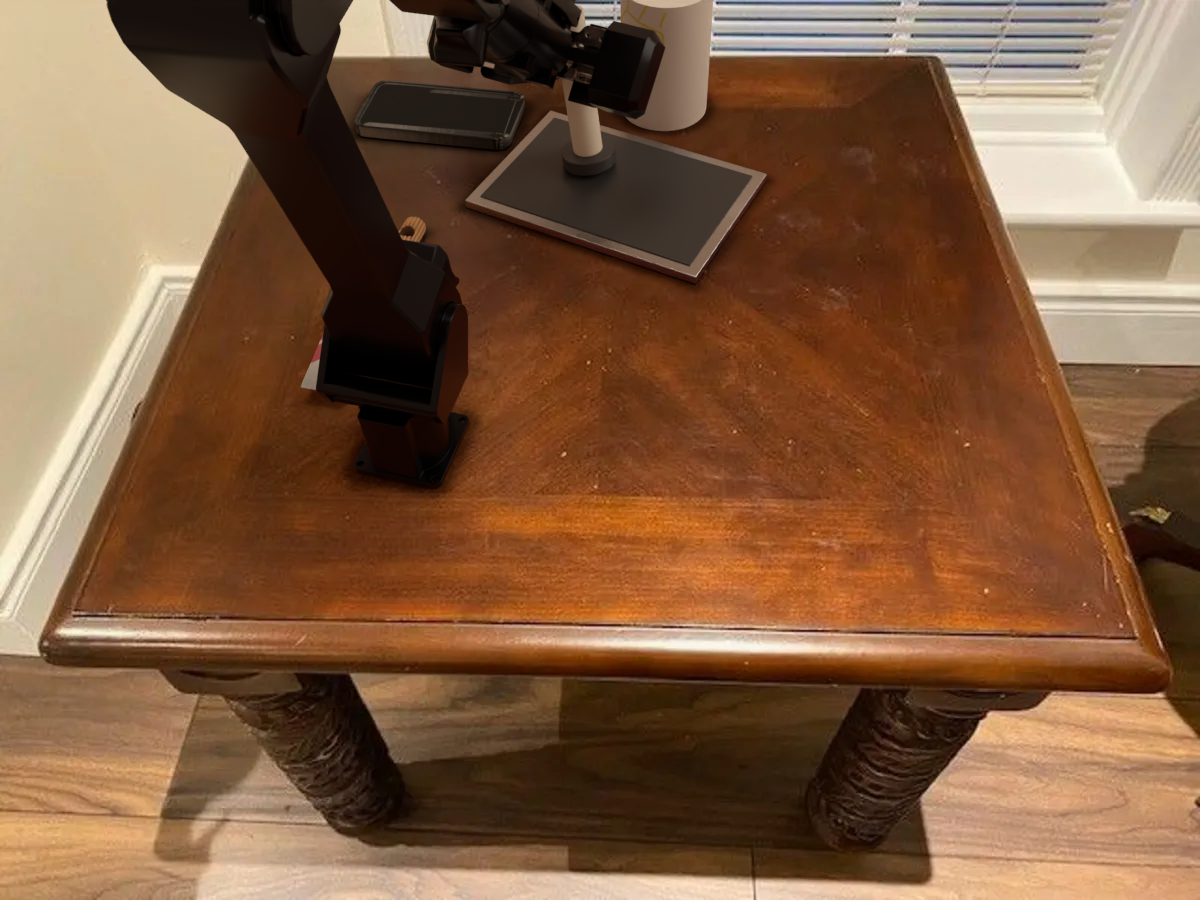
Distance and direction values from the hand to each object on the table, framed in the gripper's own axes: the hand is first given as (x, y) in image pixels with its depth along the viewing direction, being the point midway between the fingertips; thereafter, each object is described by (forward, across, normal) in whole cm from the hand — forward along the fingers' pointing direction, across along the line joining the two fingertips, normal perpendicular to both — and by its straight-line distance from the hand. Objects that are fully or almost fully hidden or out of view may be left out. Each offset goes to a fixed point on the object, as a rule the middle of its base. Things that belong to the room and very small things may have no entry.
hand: (580, 78), depth 88 cm
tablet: (+3, -5, +8) cm, 10 cm away
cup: (+13, -3, -2) cm, 14 cm away
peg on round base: (+4, -1, +6) cm, 7 cm away
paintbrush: (-12, +6, +24) cm, 27 cm away
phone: (+5, +15, +6) cm, 17 cm away
